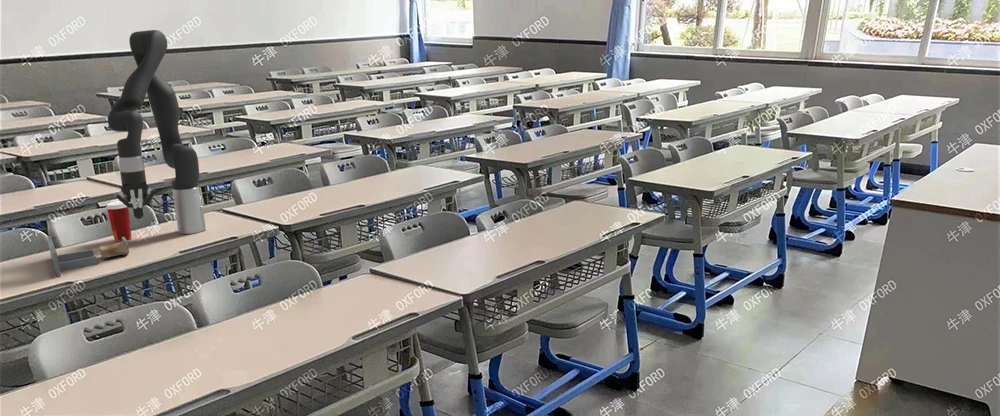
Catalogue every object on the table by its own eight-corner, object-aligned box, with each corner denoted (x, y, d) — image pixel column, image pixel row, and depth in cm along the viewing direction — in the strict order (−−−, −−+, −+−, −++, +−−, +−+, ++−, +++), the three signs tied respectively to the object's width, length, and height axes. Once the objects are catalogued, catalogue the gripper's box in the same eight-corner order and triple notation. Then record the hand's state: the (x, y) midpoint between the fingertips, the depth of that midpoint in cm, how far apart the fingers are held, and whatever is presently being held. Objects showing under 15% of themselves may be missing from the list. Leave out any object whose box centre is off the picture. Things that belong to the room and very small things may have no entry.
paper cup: (139, 236, 266) (133, 200, 263) (126, 242, 259) (120, 205, 255) (119, 236, 267) (113, 200, 263) (106, 242, 260) (100, 205, 256)
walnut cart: (126, 251, 248) (124, 236, 246) (129, 256, 243) (127, 240, 242) (100, 256, 243) (98, 241, 242) (103, 260, 239) (100, 245, 237)
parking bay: (91, 251, 249) (87, 229, 247) (100, 268, 230) (96, 245, 228) (51, 258, 243) (47, 236, 241) (57, 277, 224) (52, 253, 222)
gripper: (151, 165, 248) (157, 213, 252) (108, 169, 241) (116, 219, 245) (155, 168, 242) (161, 217, 246) (112, 173, 235) (119, 223, 239)
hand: (139, 218), depth 245 cm, fingers closed
